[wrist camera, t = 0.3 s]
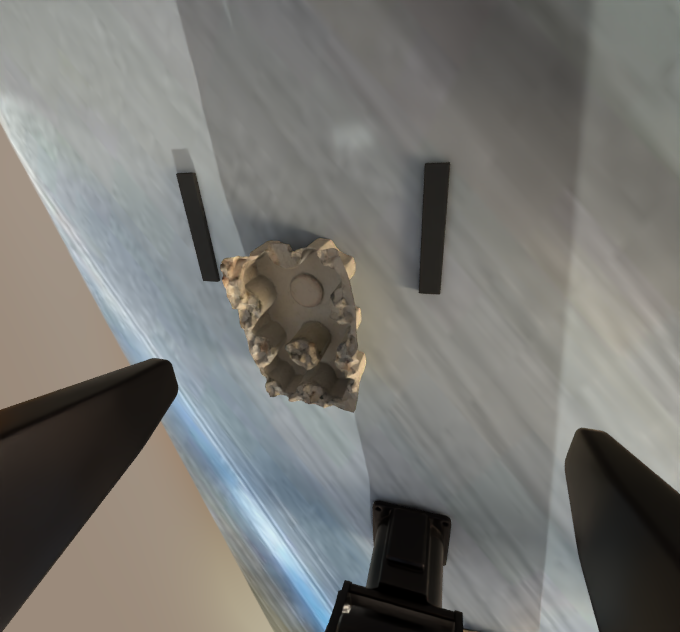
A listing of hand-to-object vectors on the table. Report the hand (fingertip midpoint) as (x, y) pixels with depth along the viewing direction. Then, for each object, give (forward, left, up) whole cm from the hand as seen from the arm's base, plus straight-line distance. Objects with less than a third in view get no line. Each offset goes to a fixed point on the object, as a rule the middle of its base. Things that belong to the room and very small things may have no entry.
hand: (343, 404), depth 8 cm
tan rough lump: (-5, +6, -14) cm, 16 cm away
